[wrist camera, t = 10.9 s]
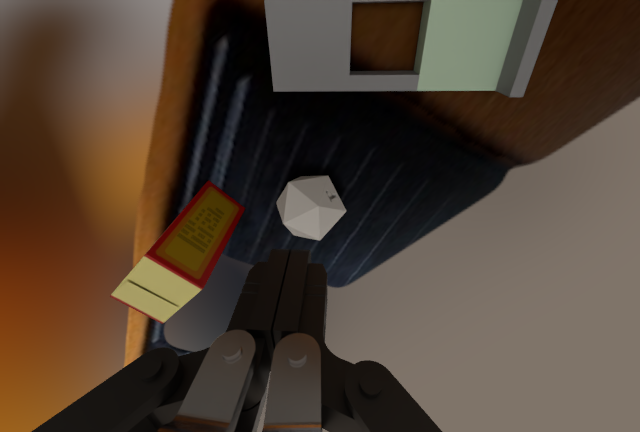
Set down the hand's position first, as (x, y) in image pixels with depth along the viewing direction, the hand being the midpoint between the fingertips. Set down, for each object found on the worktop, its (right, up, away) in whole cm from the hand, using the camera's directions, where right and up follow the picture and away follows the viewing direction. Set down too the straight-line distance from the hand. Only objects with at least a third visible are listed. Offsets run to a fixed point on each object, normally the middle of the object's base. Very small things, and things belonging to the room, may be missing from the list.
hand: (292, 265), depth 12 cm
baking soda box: (-16, +3, +33) cm, 36 cm away
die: (0, +6, +29) cm, 30 cm away
